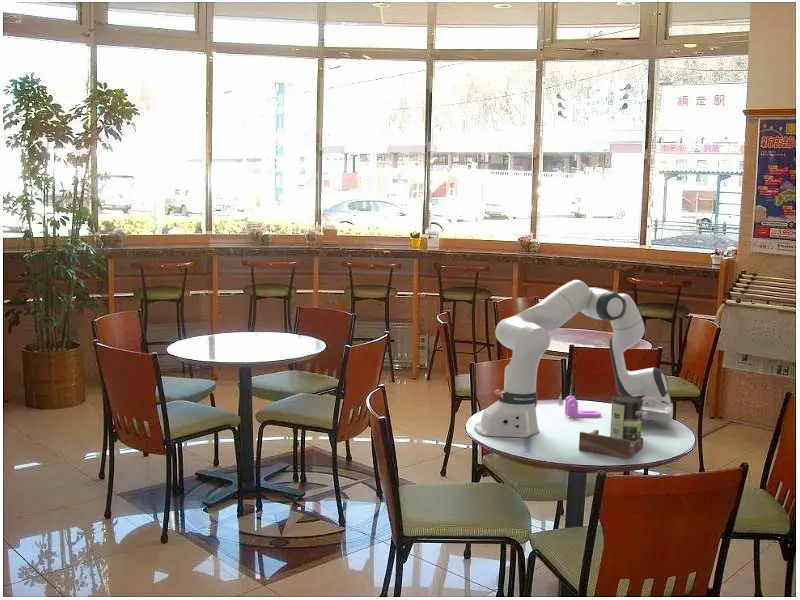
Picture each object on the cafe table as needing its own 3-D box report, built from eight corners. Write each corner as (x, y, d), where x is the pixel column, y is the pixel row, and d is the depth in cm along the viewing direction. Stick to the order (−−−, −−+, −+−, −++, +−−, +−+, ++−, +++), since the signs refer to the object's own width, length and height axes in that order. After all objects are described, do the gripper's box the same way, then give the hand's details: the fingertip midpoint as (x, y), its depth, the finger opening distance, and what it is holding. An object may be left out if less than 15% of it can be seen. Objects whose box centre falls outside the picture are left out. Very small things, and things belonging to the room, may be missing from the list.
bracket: (567, 417, 311) (568, 399, 310) (564, 413, 317) (565, 395, 316) (602, 418, 311) (603, 399, 310) (598, 414, 317) (599, 396, 316)
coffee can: (643, 437, 286) (646, 397, 284) (636, 445, 277) (639, 404, 275) (614, 433, 291) (616, 393, 289) (606, 440, 282) (608, 399, 280)
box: (594, 439, 283) (595, 422, 282) (642, 448, 274) (643, 430, 273) (578, 450, 270) (579, 432, 270) (628, 459, 261) (629, 441, 261)
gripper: (621, 395, 310) (609, 403, 299) (677, 404, 299) (666, 412, 288) (620, 412, 311) (608, 420, 299) (676, 421, 300) (665, 430, 288)
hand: (637, 416), depth 293 cm, fingers closed
